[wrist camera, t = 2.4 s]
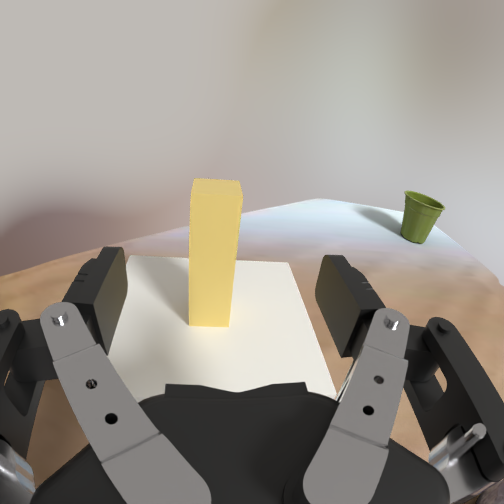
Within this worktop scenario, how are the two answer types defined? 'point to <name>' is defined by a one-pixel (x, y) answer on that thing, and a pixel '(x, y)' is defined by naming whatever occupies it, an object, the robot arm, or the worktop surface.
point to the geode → (492, 494)
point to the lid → (214, 312)
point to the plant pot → (419, 216)
